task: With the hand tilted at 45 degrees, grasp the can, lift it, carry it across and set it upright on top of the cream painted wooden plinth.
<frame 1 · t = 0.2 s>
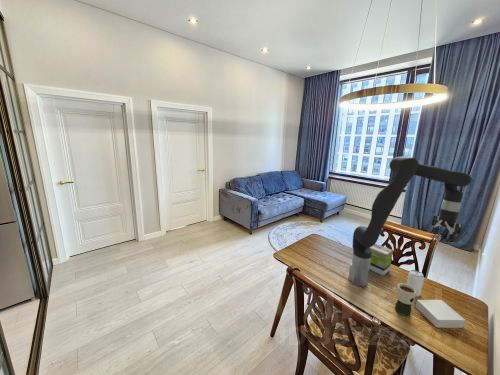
hand: (442, 237, 118), 28 cm above the table, tool pointing down, fingers open, 8 cm apart
can: (412, 293, 115), on the table
cream plinth: (438, 316, 99), on the table
character mug: (402, 312, 102), on the table
tea box: (373, 268, 137), on the table
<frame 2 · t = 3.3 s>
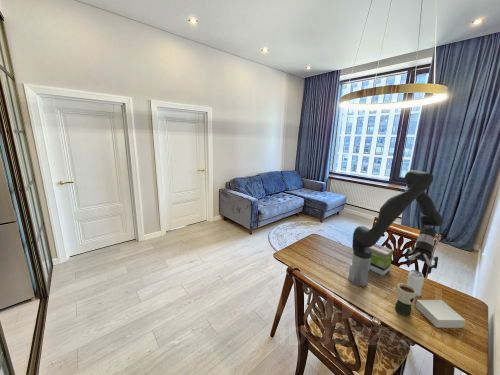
hand: (417, 270, 116), 11 cm above the table, tool tilted 45°, fingers open, 8 cm apart
nothing on the table moved.
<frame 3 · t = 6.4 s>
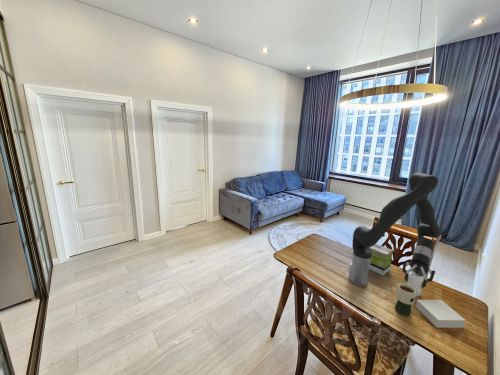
hand: (414, 284, 112), 6 cm above the table, tool tilted 45°, fingers closed on can, 6 cm apart
can: (412, 293, 115), on the table, touching gripper
everything else where it was.
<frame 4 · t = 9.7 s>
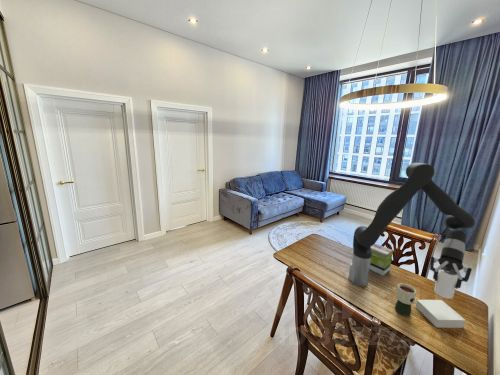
hand: (445, 284, 94), 18 cm above the table, tool tilted 45°, fingers closed on can, 6 cm apart
can: (443, 294, 97), point 12 cm above the table, touching gripper
everything else where it was.
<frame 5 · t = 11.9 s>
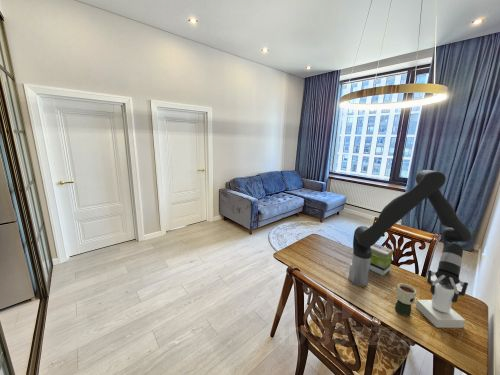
hand: (442, 298, 96), 11 cm above the table, tool tilted 45°, fingers closed on can, 6 cm apart
can: (440, 308, 98), point 5 cm above the table, touching gripper
everything else where it was.
when the fingers open (11 cm above the table, at t = 13.4 s): can stays where it is, resting on cream plinth.
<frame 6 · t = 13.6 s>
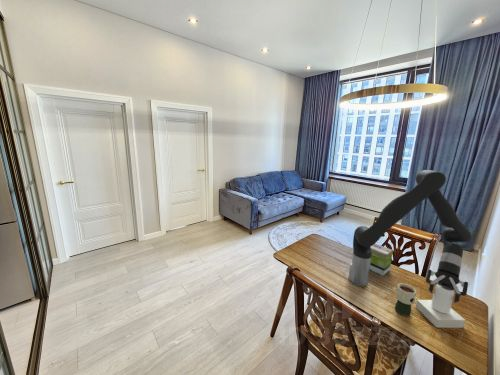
hand: (442, 297, 96), 11 cm above the table, tool tilted 45°, fingers open, 7 cm apart
can: (439, 309, 99), point 4 cm above the table, touching cream plinth
everything else where it was.
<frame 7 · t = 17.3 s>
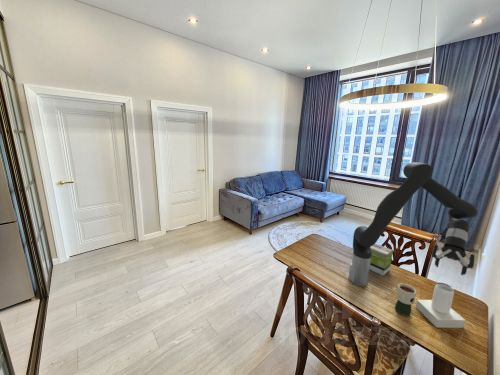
hand: (449, 270, 97), 22 cm above the table, tool tilted 45°, fingers open, 8 cm apart
nothing on the table moved.
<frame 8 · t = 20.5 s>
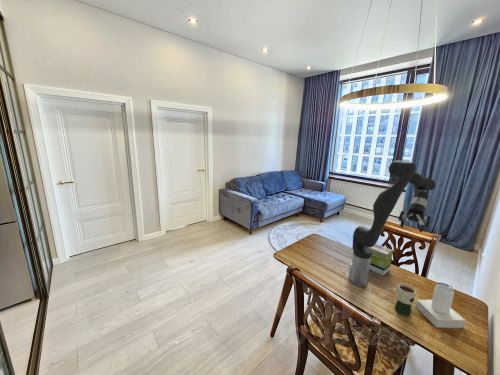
hand: (410, 229, 122), 31 cm above the table, tool tilted 45°, fingers open, 8 cm apart
nothing on the table moved.
at the end: can inside the target area on the cream plinth (0.2 cm from its centre), point 3.8 cm above the cream plinth's base; can tilted 0°; the gripper is holding nothing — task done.
